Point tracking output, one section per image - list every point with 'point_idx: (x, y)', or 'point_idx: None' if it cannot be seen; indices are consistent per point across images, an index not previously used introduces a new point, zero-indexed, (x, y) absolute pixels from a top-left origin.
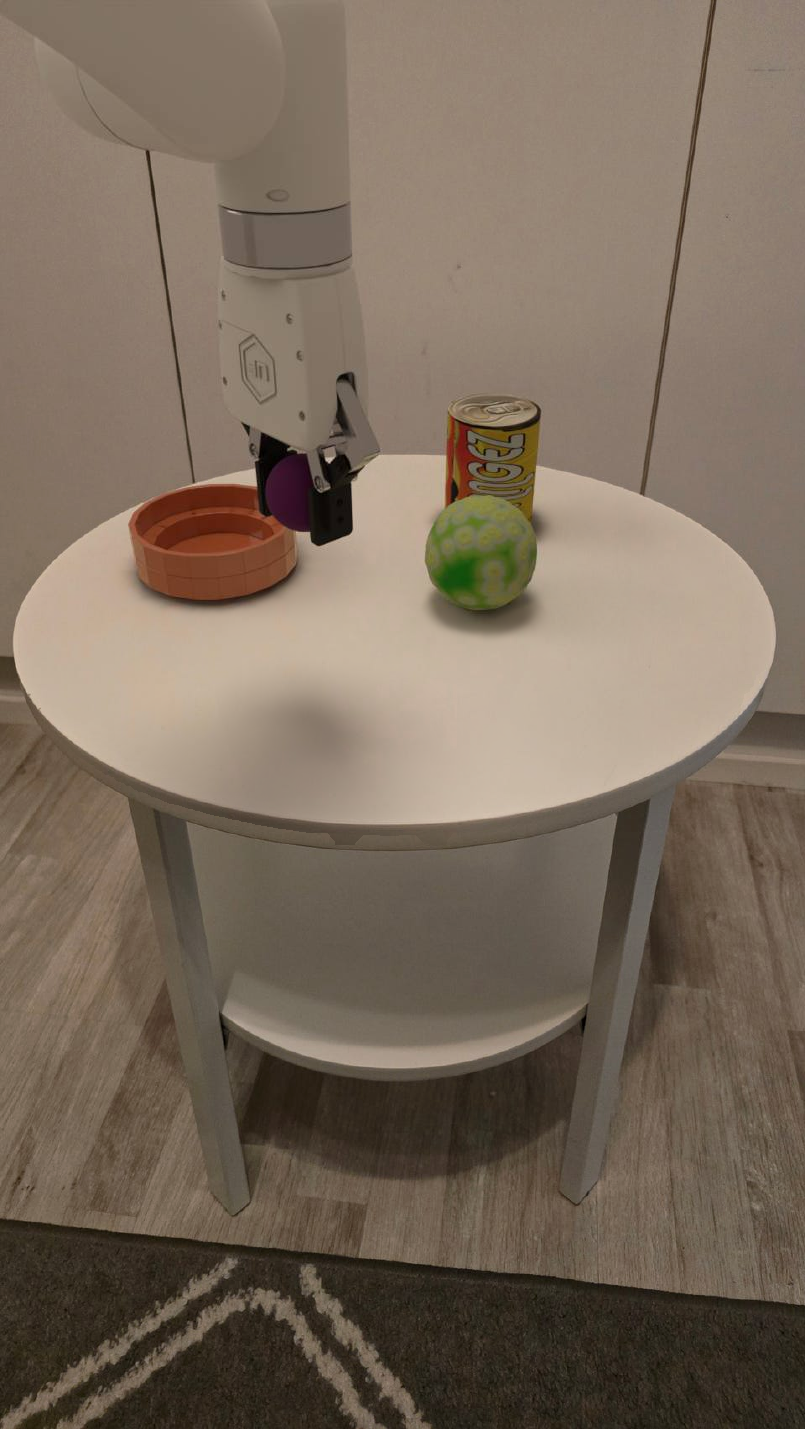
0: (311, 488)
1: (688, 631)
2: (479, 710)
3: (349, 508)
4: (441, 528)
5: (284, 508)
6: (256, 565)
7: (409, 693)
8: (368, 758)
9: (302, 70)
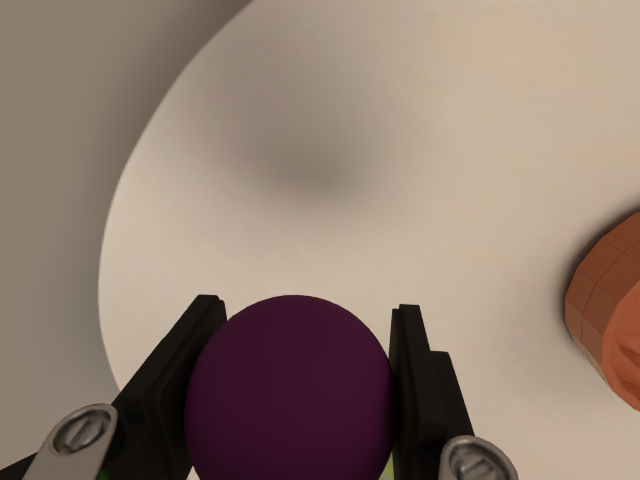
0: (140, 406)
1: None
2: (231, 294)
3: None
4: (386, 465)
5: (243, 318)
6: (591, 303)
7: (291, 270)
8: (230, 175)
9: None
